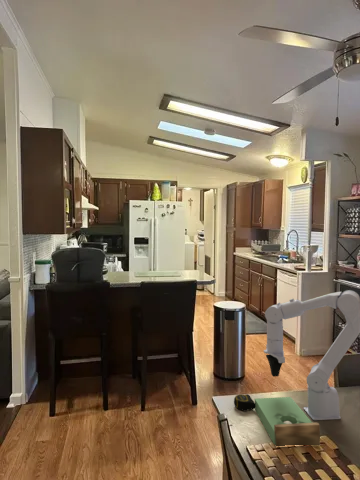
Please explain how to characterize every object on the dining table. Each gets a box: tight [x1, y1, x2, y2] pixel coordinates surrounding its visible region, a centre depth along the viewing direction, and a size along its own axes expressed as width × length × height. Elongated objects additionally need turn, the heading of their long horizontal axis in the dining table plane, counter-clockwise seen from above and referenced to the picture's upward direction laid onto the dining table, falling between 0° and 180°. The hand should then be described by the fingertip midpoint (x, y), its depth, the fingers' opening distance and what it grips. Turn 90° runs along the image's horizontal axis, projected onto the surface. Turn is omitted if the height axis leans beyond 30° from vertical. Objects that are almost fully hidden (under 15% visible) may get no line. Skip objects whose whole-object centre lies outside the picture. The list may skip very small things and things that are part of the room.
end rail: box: [274, 422, 321, 446], centre depth 97 cm, size 13×1×6 cm, turn 93°
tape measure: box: [233, 393, 255, 412], centre depth 120 cm, size 7×7×4 cm
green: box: [254, 396, 319, 446], centre depth 107 cm, size 13×22×4 cm, turn 3°
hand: (275, 375), depth 122 cm, fingers closed
